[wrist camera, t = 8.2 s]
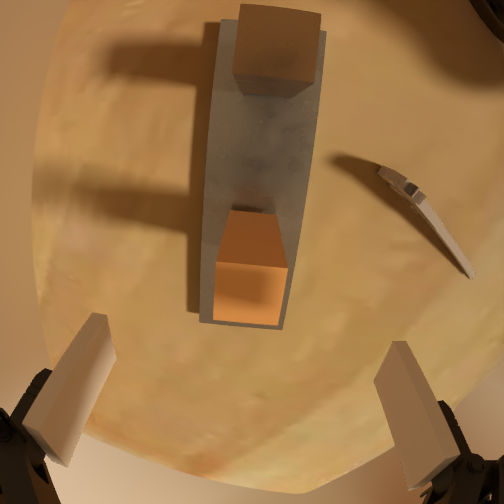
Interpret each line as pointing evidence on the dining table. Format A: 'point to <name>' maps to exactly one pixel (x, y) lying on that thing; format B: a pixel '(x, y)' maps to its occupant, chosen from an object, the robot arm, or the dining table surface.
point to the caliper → (425, 213)
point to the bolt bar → (260, 132)
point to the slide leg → (250, 270)
